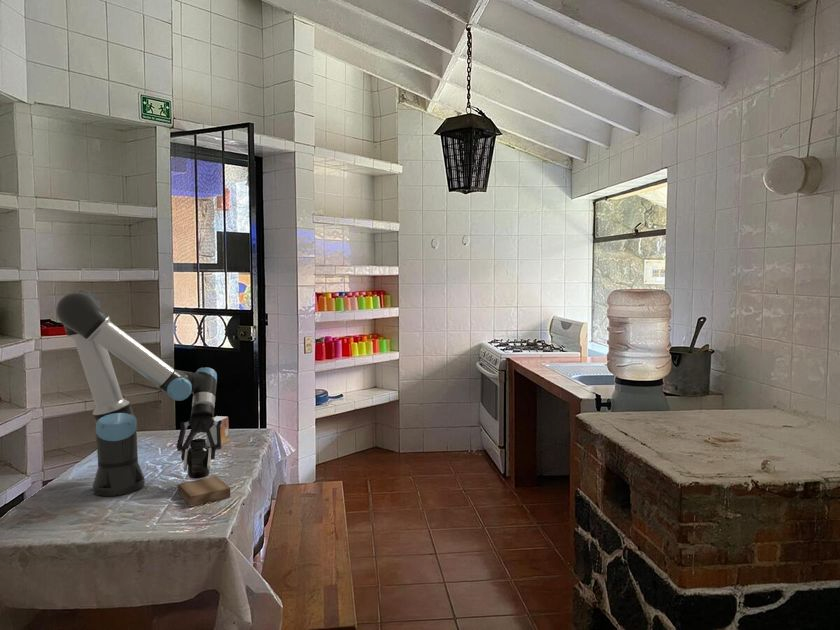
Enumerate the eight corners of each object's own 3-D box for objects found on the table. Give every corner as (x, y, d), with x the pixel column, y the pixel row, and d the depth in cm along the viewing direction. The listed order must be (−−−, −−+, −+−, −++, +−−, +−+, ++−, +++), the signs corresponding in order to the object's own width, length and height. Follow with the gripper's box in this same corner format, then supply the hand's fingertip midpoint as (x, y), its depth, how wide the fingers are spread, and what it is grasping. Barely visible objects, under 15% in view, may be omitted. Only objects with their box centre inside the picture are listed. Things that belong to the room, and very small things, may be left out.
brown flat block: (191, 506, 183) (190, 496, 182) (178, 493, 193) (178, 484, 193) (230, 496, 190) (230, 487, 190) (216, 484, 200) (215, 476, 200)
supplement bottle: (214, 474, 204) (213, 439, 203) (198, 480, 198) (198, 444, 197) (198, 471, 207) (198, 436, 206) (183, 477, 201) (182, 441, 200)
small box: (219, 447, 241) (218, 421, 240) (206, 446, 242) (205, 420, 241) (229, 441, 248) (228, 416, 247) (217, 440, 250) (216, 415, 249)
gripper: (233, 412, 218) (229, 471, 204) (174, 414, 214) (166, 475, 199) (231, 401, 212) (227, 461, 198) (171, 403, 208) (163, 464, 194)
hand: (197, 468), depth 199 cm, fingers closed on supplement bottle, 7 cm apart
